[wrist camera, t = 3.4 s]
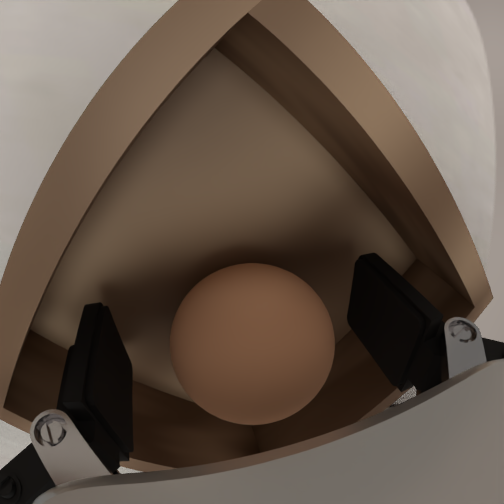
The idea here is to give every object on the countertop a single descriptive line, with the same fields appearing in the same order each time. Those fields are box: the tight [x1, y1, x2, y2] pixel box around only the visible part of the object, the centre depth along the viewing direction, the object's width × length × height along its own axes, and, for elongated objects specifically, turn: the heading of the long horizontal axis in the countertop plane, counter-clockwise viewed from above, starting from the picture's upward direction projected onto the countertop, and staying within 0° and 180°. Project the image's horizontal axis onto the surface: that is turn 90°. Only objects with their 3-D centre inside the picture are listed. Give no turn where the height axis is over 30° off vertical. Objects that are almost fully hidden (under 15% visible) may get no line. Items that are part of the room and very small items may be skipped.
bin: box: [0, 0, 493, 472], centre depth 10 cm, size 14×14×4 cm
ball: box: [170, 263, 335, 425], centre depth 9 cm, size 5×5×5 cm
